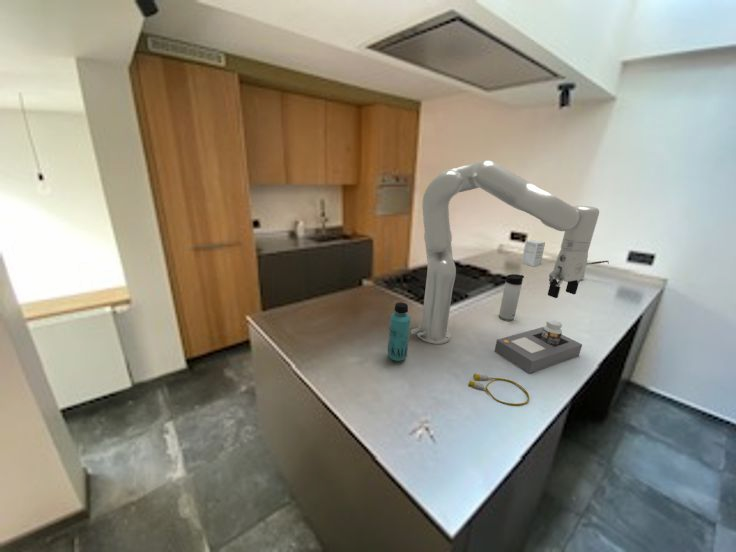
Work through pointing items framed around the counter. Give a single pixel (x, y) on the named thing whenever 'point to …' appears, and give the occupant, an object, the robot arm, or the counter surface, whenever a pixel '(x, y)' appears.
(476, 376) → the yellow connector cable
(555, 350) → the socket block
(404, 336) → the beverage bottle
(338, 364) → the counter surface
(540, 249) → the supplement box
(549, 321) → the pill bottle
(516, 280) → the travel mug
